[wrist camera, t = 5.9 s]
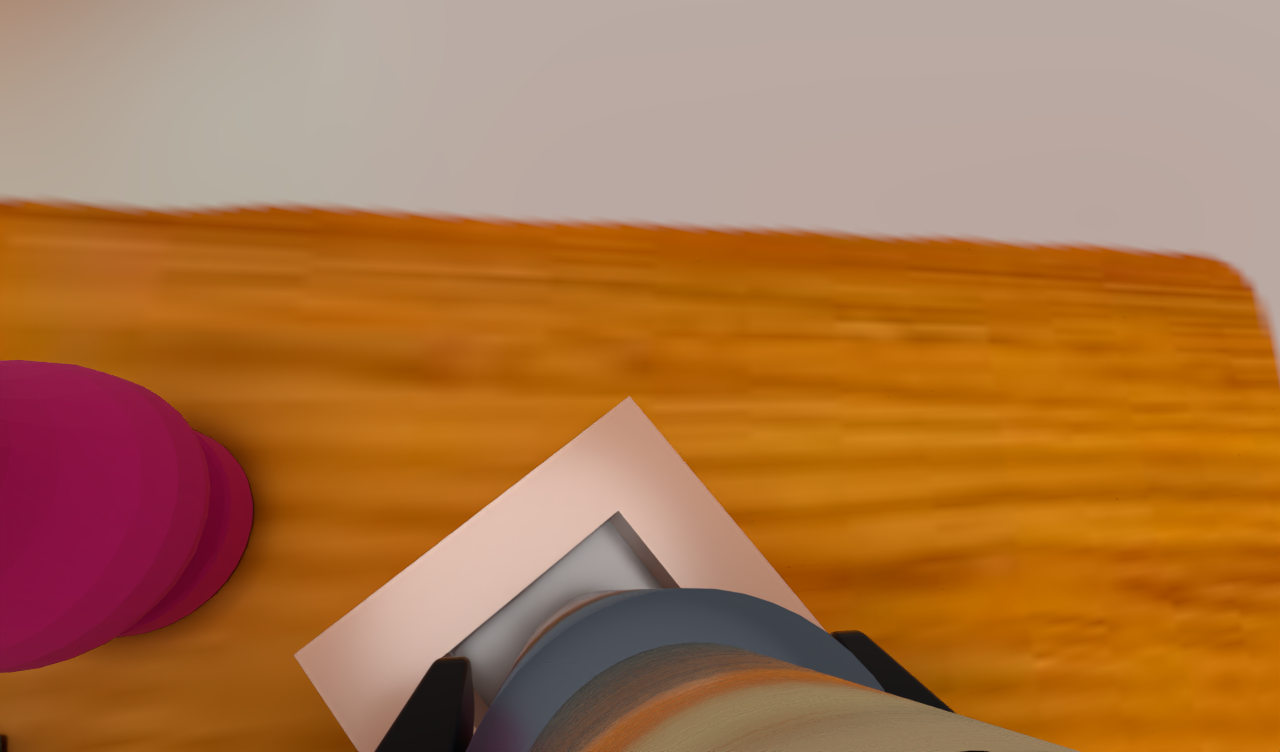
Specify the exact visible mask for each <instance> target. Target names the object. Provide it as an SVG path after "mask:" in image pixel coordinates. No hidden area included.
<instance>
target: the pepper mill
mask: <svg viewBox="0 0 1280 752" xmlns="http://www.w3.org/2000/svg"><path fill="white" fill-rule="evenodd" d="M252 518H253V500H252V496H251V492H250V487H249V483H248V480H247V477H246V475H245V473H244V471H243V469H242V467H241V466H240V464H239V463H238V462H237V461H236V459H235V458H234V457H233V456H232V454H231V453H230V452H229V451H228V450H227V449H226V448H225V447H224V446H222V445H221V444H219V443H218V442H217V441H215V440H214V439H212V438H210V437H208V436H206V435H204V434H201V433H199V432H197V431H195V430H193V429H192V428H191V427H190V425H189V424H188V423H187V422H186V420H185V419H184V418H183V417H182V415H181V414H180V413H179V412H178V411H177V410H175V409H174V408H173V407H172V406H171V405H169V404H168V403H167V402H166V401H165V400H163V399H162V398H161V397H160V396H158V395H156V394H155V393H153V392H151V391H150V390H148V389H146V388H144V387H143V386H140V385H138V384H135V383H132V382H130V381H127V380H125V379H122V378H119V377H116V376H113V375H110V374H107V373H104V372H100V371H96V370H92V369H89V368H85V367H81V366H77V365H72V364H60V363H48V362H36V361H24V360H9V361H0V673H5V672H16V671H23V670H29V669H36V668H41V667H44V666H48V665H51V664H54V663H58V662H61V661H65V660H68V659H71V658H74V657H76V656H78V655H81V654H83V653H85V652H87V651H90V650H92V649H94V648H96V647H99V646H101V645H103V644H105V643H107V642H109V641H110V640H112V639H113V638H115V637H124V636H132V635H138V634H142V633H147V632H151V631H153V630H156V629H159V628H162V627H165V626H168V625H170V624H172V623H174V622H176V621H178V620H179V619H181V618H183V617H185V616H187V615H189V614H190V613H192V612H193V611H195V610H196V609H197V608H198V607H200V606H201V605H202V604H203V603H205V602H206V601H207V600H209V599H210V598H211V597H212V596H213V595H214V594H215V593H216V592H217V591H218V590H219V589H220V588H221V587H222V586H223V584H224V583H225V582H226V581H227V580H228V578H229V577H230V575H231V574H232V572H233V571H234V569H235V568H236V566H237V565H238V562H239V560H240V558H241V556H242V554H243V552H244V550H245V548H246V545H247V541H248V537H249V534H250V530H251V526H252Z"/></svg>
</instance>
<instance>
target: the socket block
mask: <svg viewBox="0 0 1280 752" xmlns="http://www.w3.org/2000/svg"><path fill="white" fill-rule="evenodd" d="M667 588H705V589H720V590H726V591H732V592H738V593H744V594H747V595H750V596H754V597H757V598H760V599H763V600H766V601H770V602H773V603H775V604H777V605H779V606H781V607H784V608H786V609H788V610H790V611H792V612H794V613H796V614H799V615H801V616H802V617H804V618H805V619H807V620H809V621H810V622H812V623H813V624H815V625H816V626H818V627H820V628H821V629H823V630H824V631H825V629H824V628H823V627H822V626H821V625H820V623H819V622H818V621H817V620H816V619H815V617H814V616H813V615H812V614H811V613H810V611H809V610H808V609H807V608H806V607H805V605H804V604H803V603H802V602H801V601H800V599H799V598H798V597H797V596H796V595H795V593H794V592H793V591H792V590H791V589H790V588H789V586H788V585H787V584H786V583H785V582H784V580H783V579H782V578H781V577H780V576H779V574H778V573H777V572H776V571H775V570H774V568H773V567H772V566H771V565H770V564H769V562H768V561H767V560H766V559H765V558H764V556H763V555H762V554H761V553H760V552H759V550H758V549H757V548H756V547H755V546H754V544H753V543H752V542H751V541H750V540H749V539H748V537H747V536H746V535H745V534H744V533H743V531H742V530H741V529H740V528H739V527H738V525H737V524H736V523H735V522H734V521H733V519H732V518H731V517H730V516H729V515H728V513H727V512H726V511H725V510H724V509H723V507H722V506H721V505H720V504H719V503H718V501H717V500H716V499H715V498H714V497H713V495H712V494H711V493H710V492H709V491H708V489H707V488H706V487H705V486H704V485H703V484H702V482H701V481H700V480H699V479H698V478H697V476H696V475H695V474H694V473H693V472H692V470H691V469H690V468H689V467H688V466H687V464H686V463H685V462H684V461H683V460H682V458H681V457H680V456H679V455H678V454H677V452H676V451H675V450H674V449H673V448H672V446H671V445H670V444H669V443H668V442H667V440H666V439H665V438H664V437H663V436H662V434H661V433H660V432H659V431H658V430H657V429H656V427H655V426H654V425H653V424H652V423H651V421H650V420H649V419H648V418H647V417H646V415H645V414H644V413H643V412H642V411H641V409H640V408H639V407H638V406H637V405H636V403H635V402H634V401H633V400H632V399H631V397H630V396H629V397H628V398H626V399H625V400H624V401H622V402H621V403H620V404H618V405H617V406H616V407H615V408H613V409H612V410H611V411H609V412H608V413H607V414H606V415H604V416H603V417H602V418H600V419H599V420H598V421H596V422H595V423H594V424H593V425H591V426H590V427H589V428H587V429H586V430H585V431H583V432H582V433H581V434H580V435H578V436H577V437H576V438H574V439H573V440H572V441H571V442H569V443H568V444H567V445H565V446H564V447H563V448H561V449H560V450H559V451H558V452H556V453H555V454H554V455H552V456H551V457H550V458H548V459H547V460H546V461H545V462H543V463H542V464H541V465H539V466H538V467H537V468H536V469H534V470H533V471H532V472H530V473H529V474H528V475H526V476H525V477H524V478H523V479H521V480H520V481H519V482H517V483H516V484H515V485H513V486H512V487H511V488H510V489H508V490H507V491H506V492H504V493H503V494H502V495H500V496H499V497H498V498H497V499H495V500H494V501H493V502H491V503H490V504H489V505H488V506H486V507H485V508H484V509H482V510H481V511H480V512H478V513H477V514H476V515H475V516H473V517H472V518H471V519H469V520H468V521H467V522H465V523H464V524H463V525H462V526H460V527H459V528H458V529H456V530H455V531H454V532H453V533H451V534H450V535H449V536H447V537H446V538H445V539H443V540H442V541H441V542H440V543H438V544H437V545H436V546H434V547H433V548H432V549H430V550H429V551H428V552H427V553H425V554H424V555H423V556H421V557H420V558H419V559H418V560H416V561H415V562H414V563H412V564H411V565H410V566H408V567H407V568H406V569H405V570H403V571H402V572H401V573H399V574H398V575H397V576H395V577H394V578H393V579H392V580H390V581H389V582H388V583H386V584H385V585H384V586H382V587H381V588H380V589H379V590H377V591H376V592H375V593H373V594H372V595H371V596H370V597H368V598H367V599H366V600H364V601H363V602H362V603H360V604H359V605H358V606H357V607H355V608H354V609H353V610H351V611H350V612H349V613H347V614H346V615H345V616H344V617H342V618H341V619H340V620H338V621H337V622H336V623H335V624H333V625H332V626H331V627H329V628H328V629H327V630H325V631H324V632H323V633H322V634H320V635H319V636H318V637H316V638H315V639H314V640H312V641H311V642H310V643H309V644H307V645H306V646H305V647H303V648H302V649H301V650H300V651H298V652H297V653H296V654H294V656H295V658H296V659H297V661H298V662H299V664H300V665H301V667H302V668H303V670H304V671H305V673H306V674H307V676H308V677H309V679H310V680H311V682H312V683H313V685H314V686H315V688H316V689H317V691H318V692H319V694H320V695H321V697H322V698H323V700H324V701H325V703H326V704H327V706H328V707H329V709H330V710H331V712H332V713H333V714H334V716H335V717H336V719H337V720H338V722H339V723H340V725H341V726H342V728H343V729H344V731H345V732H346V734H347V735H348V737H349V738H350V740H351V741H352V743H353V744H354V746H355V747H356V749H357V750H358V752H374V751H375V750H376V748H377V747H378V745H379V744H380V742H381V741H382V739H383V738H384V736H385V734H386V733H387V731H388V730H389V728H390V727H391V725H392V724H393V722H394V721H395V719H396V718H397V716H398V715H399V713H400V712H401V710H402V709H403V707H404V706H405V704H406V703H407V701H408V700H409V698H410V696H411V695H412V693H413V692H414V690H415V689H416V687H417V686H418V684H419V683H420V681H421V680H422V678H423V677H424V675H425V674H426V672H427V671H428V669H429V668H430V666H431V665H432V663H433V662H434V661H435V660H437V659H439V658H446V657H461V656H464V657H467V658H469V660H470V662H471V670H472V680H473V691H474V702H475V715H474V732H473V735H474V733H475V731H476V730H477V728H478V726H479V724H480V723H481V721H482V719H483V717H484V716H485V714H486V712H487V710H488V709H489V707H490V705H491V703H492V702H493V700H494V698H495V696H496V695H497V693H498V691H499V689H500V688H501V686H502V684H503V682H504V681H505V679H506V677H507V675H508V674H509V672H510V670H511V668H512V667H513V665H514V663H515V661H516V660H517V658H518V656H519V654H520V653H521V651H522V649H523V647H524V646H525V644H526V642H527V641H528V639H529V638H530V636H531V635H532V633H533V632H534V631H535V630H536V628H537V627H538V626H539V625H540V623H541V622H542V621H544V620H545V619H546V618H547V617H548V616H549V615H550V614H551V613H552V612H554V611H555V610H556V609H558V608H559V607H560V606H562V605H564V604H565V603H567V602H569V601H571V600H572V599H575V598H577V597H580V596H582V595H585V594H589V593H593V592H597V591H605V590H630V589H667Z"/></svg>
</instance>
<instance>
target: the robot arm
mask: <svg viewBox="0 0 1280 752" xmlns="http://www.w3.org/2000/svg"><path fill="white" fill-rule="evenodd" d="M830 635H831V636H832V637H833V638H834V639H836V640H837V641H838V642H839V643H840V644H842V645H843V646H844V647H845V648H847V649H848V650H849V651H850V652H851V653H852V654H853V655H854V656H855V657H856V658H857V659H858V660H859V661H860V662H861V663H862V664H863V665H864V666H865V668H866V669H867V670H868V671H869V672H870V673H871V674H872V675H873V676H874V677H875V679H876V680H877V681H878V683H879V684H880V685H881V687H882V688H883V689H884V691H885V692H886V693H889V694H893V695H896V696H899V697H902V698H906V699H909V700H912V701H916V702H919V703H922V704H925V705H929V706H932V707H935V708H938V709H942V710H945V711H948V712H952V713H955V712H954V711H953V710H952V709H950V708H949V707H948V706H947V705H946V704H945V703H944V702H942V701H941V700H940V699H939V698H938V697H937V696H936V695H934V694H933V693H932V692H931V691H930V690H929V689H927V688H926V687H925V686H924V685H923V684H922V683H921V682H919V681H918V680H917V679H916V678H915V677H914V676H913V675H911V674H910V673H909V672H908V671H907V670H906V669H904V668H903V667H902V666H901V665H900V664H899V663H898V662H896V661H895V660H894V659H893V658H892V657H891V656H890V655H888V654H887V653H886V652H885V651H884V650H883V649H881V648H880V647H879V646H878V645H877V644H876V643H875V642H873V641H872V640H871V639H870V638H869V637H868V636H866V635H865V634H864V633H862V632H860V631H856V630H851V631H836V632H832V633H831V634H830ZM955 714H956V713H955ZM474 715H475V702H474V691H473V680H472V670H471V662H470V660H469V658H467V657H464V656H461V657H446V658H439V659H437V660H435V661H434V662H433V663H432V665H431V666H430V668H429V669H428V671H427V672H426V674H425V675H424V677H423V678H422V680H421V681H420V683H419V684H418V686H417V687H416V689H415V690H414V692H413V693H412V695H411V696H410V698H409V700H408V701H407V703H406V704H405V706H404V707H403V709H402V710H401V712H400V713H399V715H398V716H397V718H396V719H395V721H394V722H393V724H392V725H391V727H390V728H389V730H388V731H387V733H386V734H385V736H384V738H383V739H382V741H381V742H380V744H379V745H378V747H377V748H376V750H375V751H374V752H466V750H467V748H468V746H469V744H470V742H471V739H472V737H473V732H474Z"/></svg>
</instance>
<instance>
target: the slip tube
mask: <svg viewBox="0 0 1280 752" xmlns="http://www.w3.org/2000/svg"><path fill="white" fill-rule="evenodd" d="M466 752H1079V751H1076V750H1073V749H1069V748H1066V747H1063V746H1060V745H1056V744H1053V743H1050V742H1047V741H1043V740H1040V739H1037V738H1033V737H1030V736H1027V735H1024V734H1020V733H1017V732H1014V731H1011V730H1007V729H1004V728H1001V727H997V726H994V725H991V724H988V723H984V722H981V721H978V720H975V719H971V718H968V717H965V716H961V715H958V714H955V713H952V712H948V711H945V710H942V709H938V708H935V707H932V706H929V705H925V704H922V703H919V702H916V701H912V700H909V699H906V698H902V697H899V696H896V695H893V694H889V693H886V692H885V691H884V689H883V688H882V687H881V685H880V684H879V683H878V681H877V680H876V679H875V677H874V676H873V675H872V674H871V673H870V672H869V671H868V670H867V669H866V668H865V666H864V665H863V664H862V663H861V662H860V661H859V660H858V659H857V658H856V657H855V656H854V655H853V654H852V653H851V652H850V651H849V650H848V649H847V648H845V647H844V646H843V645H842V644H840V643H839V642H838V641H837V640H836V639H834V638H833V637H832V636H831V635H830V634H828V633H827V632H826V631H824V630H823V629H821V628H820V627H818V626H816V625H815V624H813V623H812V622H810V621H809V620H807V619H805V618H804V617H802V616H801V615H799V614H796V613H794V612H792V611H790V610H788V609H786V608H784V607H781V606H779V605H777V604H775V603H773V602H770V601H766V600H763V599H760V598H757V597H754V596H750V595H747V594H744V593H738V592H732V591H726V590H720V589H705V588H667V589H630V590H605V591H597V592H593V593H589V594H585V595H582V596H580V597H577V598H575V599H572V600H571V601H569V602H567V603H565V604H564V605H562V606H560V607H559V608H558V609H556V610H555V611H554V612H552V613H551V614H550V615H549V616H548V617H547V618H546V619H545V620H544V621H542V622H541V623H540V625H539V626H538V627H537V628H536V630H535V631H534V632H533V633H532V635H531V636H530V638H529V639H528V641H527V642H526V644H525V646H524V647H523V649H522V651H521V653H520V654H519V656H518V658H517V660H516V661H515V663H514V665H513V667H512V668H511V670H510V672H509V674H508V675H507V677H506V679H505V681H504V682H503V684H502V686H501V688H500V689H499V691H498V693H497V695H496V696H495V698H494V700H493V702H492V703H491V705H490V707H489V709H488V710H487V712H486V714H485V716H484V717H483V719H482V721H481V723H480V724H479V726H478V728H477V730H476V731H475V733H474V735H473V737H472V739H471V742H470V744H469V746H468V748H467V750H466Z"/></svg>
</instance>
